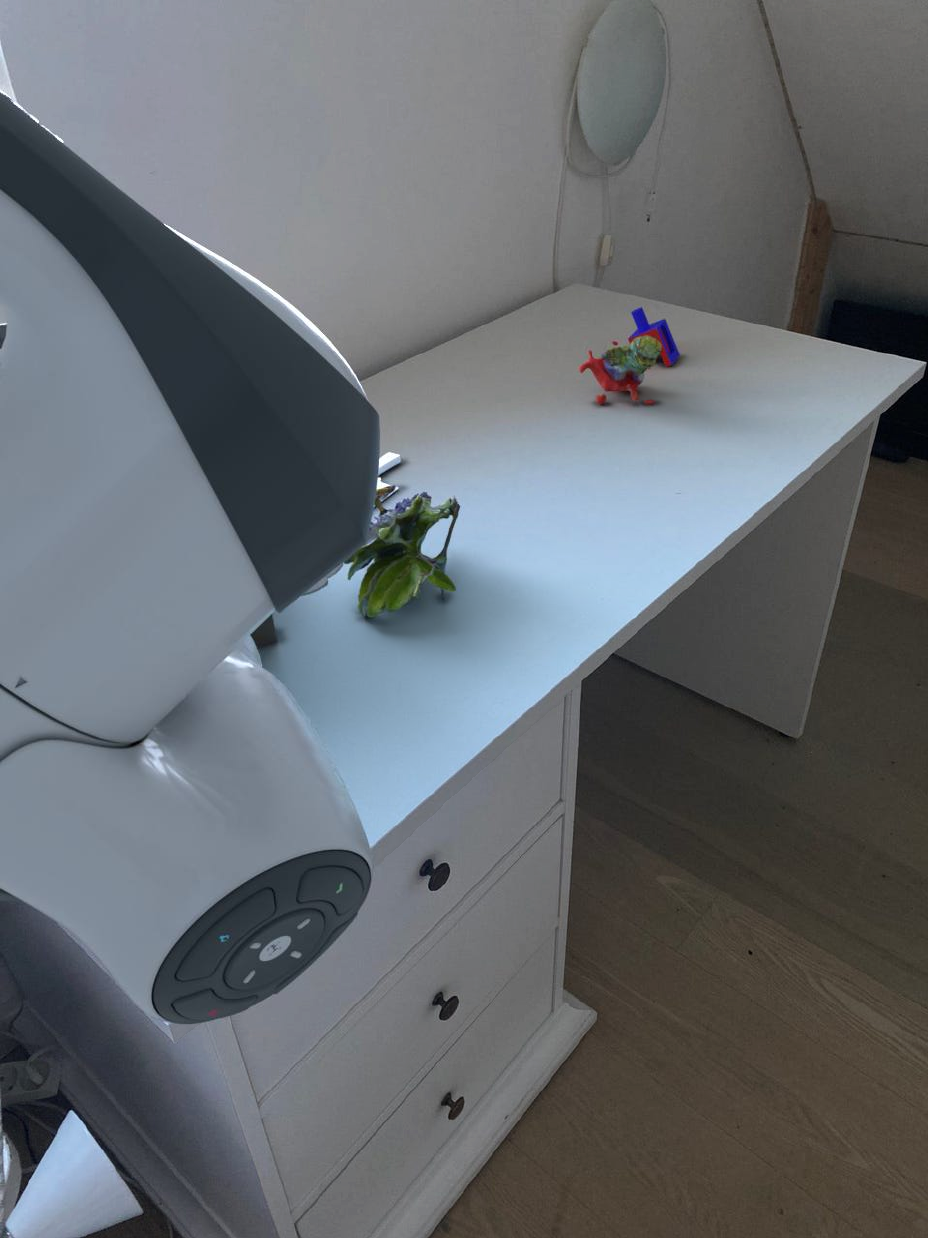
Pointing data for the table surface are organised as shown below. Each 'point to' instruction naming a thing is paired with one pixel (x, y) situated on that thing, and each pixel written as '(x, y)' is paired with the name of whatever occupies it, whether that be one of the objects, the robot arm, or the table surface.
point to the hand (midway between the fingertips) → (53, 507)
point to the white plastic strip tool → (385, 464)
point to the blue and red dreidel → (656, 335)
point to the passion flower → (401, 553)
